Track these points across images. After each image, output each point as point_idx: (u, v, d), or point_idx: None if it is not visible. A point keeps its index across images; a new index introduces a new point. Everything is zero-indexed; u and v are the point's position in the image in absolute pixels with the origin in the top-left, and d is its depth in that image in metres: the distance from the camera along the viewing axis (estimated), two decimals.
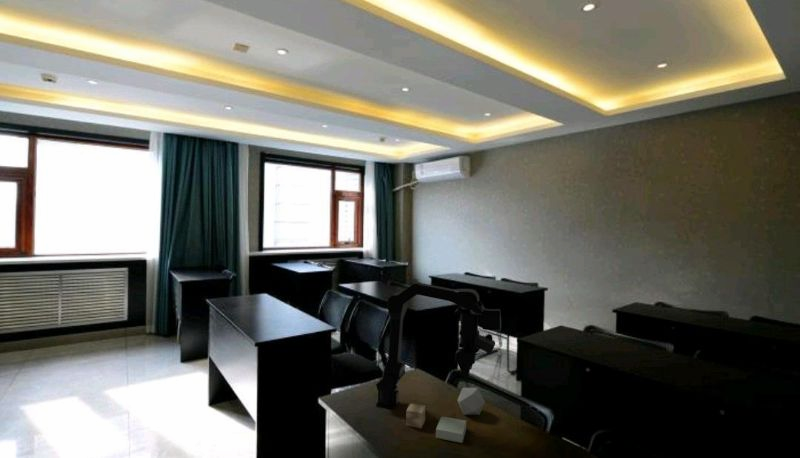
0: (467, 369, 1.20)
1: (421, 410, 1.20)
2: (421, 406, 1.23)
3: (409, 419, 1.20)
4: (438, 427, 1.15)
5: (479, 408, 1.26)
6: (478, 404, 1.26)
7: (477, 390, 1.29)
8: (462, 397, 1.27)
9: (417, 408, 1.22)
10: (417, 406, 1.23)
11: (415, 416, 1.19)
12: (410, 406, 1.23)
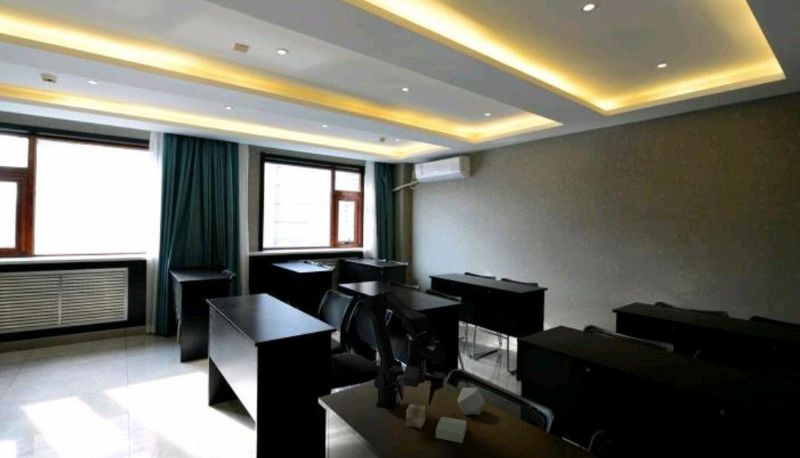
0: None
1: (421, 410, 1.20)
2: (421, 406, 1.23)
3: (409, 419, 1.20)
4: (438, 427, 1.15)
5: (479, 408, 1.26)
6: (478, 404, 1.26)
7: (477, 390, 1.29)
8: (462, 397, 1.27)
9: (417, 408, 1.22)
10: (417, 406, 1.23)
11: (415, 416, 1.19)
12: (410, 406, 1.23)
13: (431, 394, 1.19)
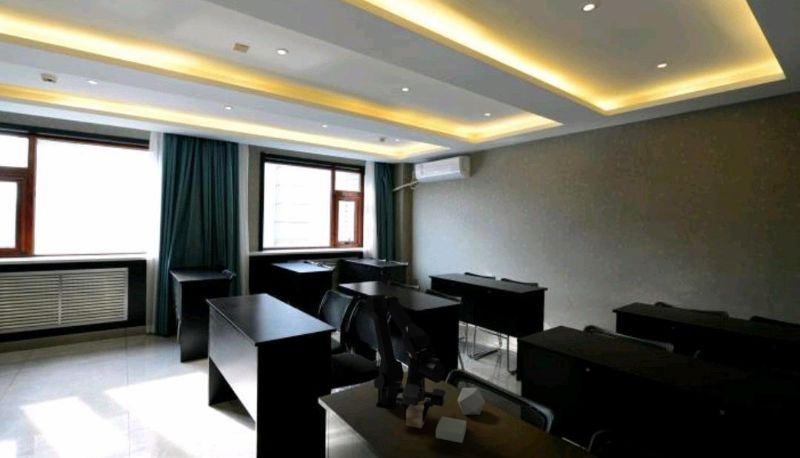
0: None
1: (421, 410, 1.20)
2: (421, 406, 1.23)
3: (409, 418, 1.20)
4: (438, 427, 1.15)
5: (479, 408, 1.26)
6: (478, 404, 1.26)
7: (477, 390, 1.29)
8: (462, 397, 1.27)
9: (417, 407, 1.22)
10: (417, 406, 1.23)
11: (415, 415, 1.19)
12: (410, 406, 1.23)
13: (425, 411, 1.20)
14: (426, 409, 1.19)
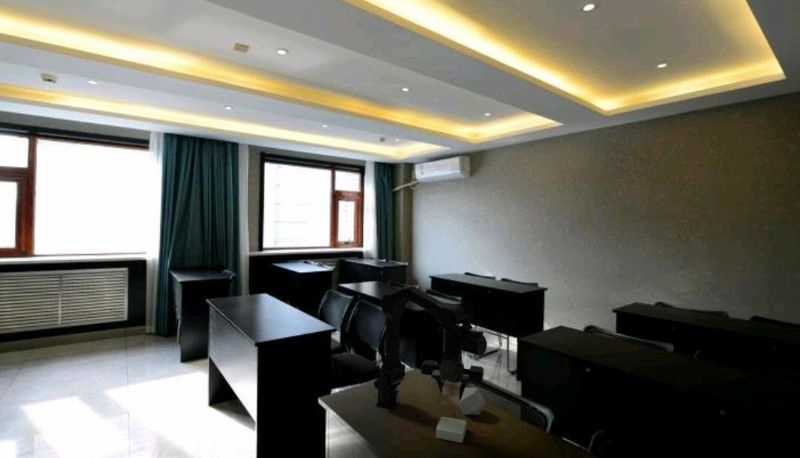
0: None
1: (458, 387, 1.14)
2: (457, 383, 1.17)
3: (446, 396, 1.14)
4: (438, 427, 1.15)
5: (479, 408, 1.26)
6: (478, 404, 1.26)
7: (477, 390, 1.29)
8: (462, 397, 1.27)
9: (453, 385, 1.16)
10: (453, 383, 1.17)
11: (452, 393, 1.13)
12: (445, 383, 1.17)
13: (462, 388, 1.14)
14: (463, 386, 1.14)
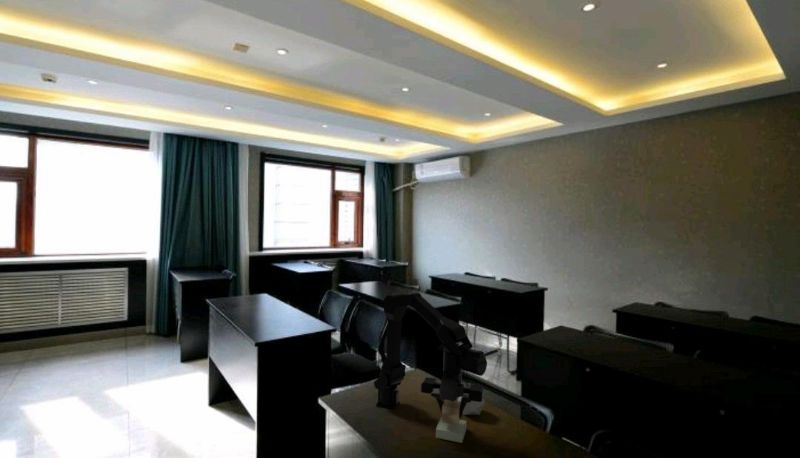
0: None
1: (458, 406, 1.15)
2: (457, 402, 1.17)
3: (445, 415, 1.14)
4: (438, 427, 1.15)
5: (479, 408, 1.26)
6: (478, 404, 1.26)
7: None
8: None
9: (453, 403, 1.16)
10: (453, 402, 1.17)
11: (452, 412, 1.14)
12: (445, 402, 1.17)
13: (462, 407, 1.14)
14: (463, 405, 1.14)
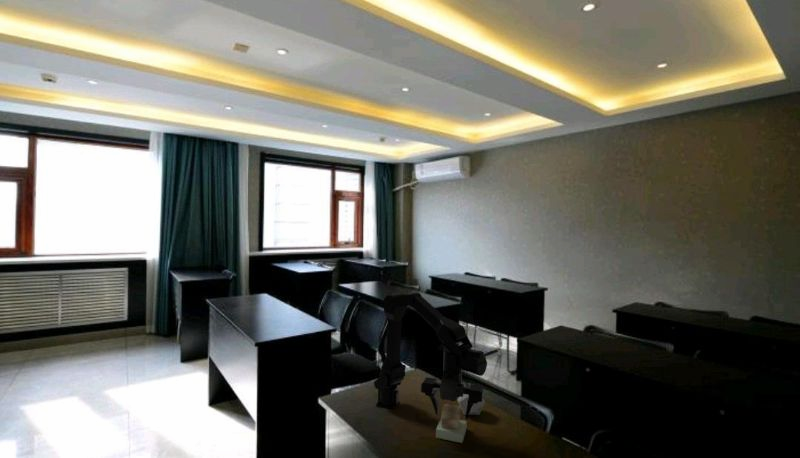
0: None
1: (457, 411, 1.15)
2: (456, 406, 1.18)
3: (445, 420, 1.14)
4: (438, 427, 1.15)
5: (479, 408, 1.26)
6: (478, 404, 1.26)
7: None
8: (462, 397, 1.27)
9: (453, 408, 1.16)
10: (452, 407, 1.18)
11: (452, 417, 1.14)
12: (445, 407, 1.17)
13: (468, 408, 1.13)
14: (470, 406, 1.13)
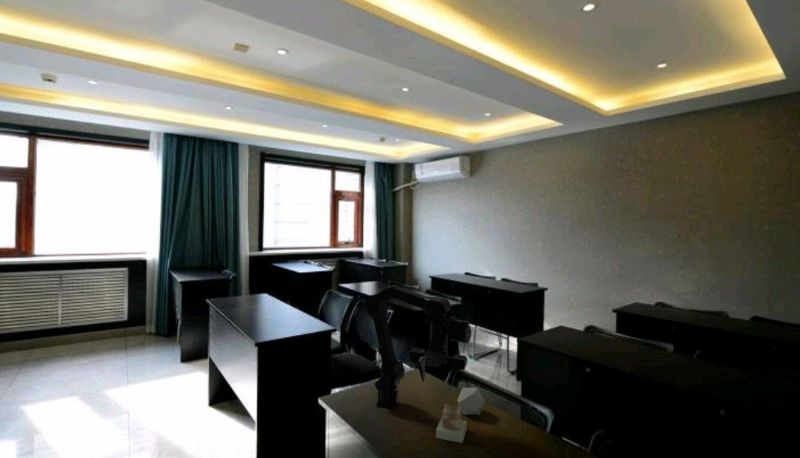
0: None
1: (458, 411, 1.15)
2: (457, 407, 1.18)
3: (446, 420, 1.14)
4: (438, 428, 1.14)
5: (479, 408, 1.26)
6: (478, 404, 1.26)
7: (477, 390, 1.29)
8: (462, 397, 1.27)
9: (453, 408, 1.16)
10: (453, 407, 1.17)
11: (452, 417, 1.14)
12: (445, 407, 1.17)
13: (452, 375, 1.22)
14: (453, 374, 1.22)
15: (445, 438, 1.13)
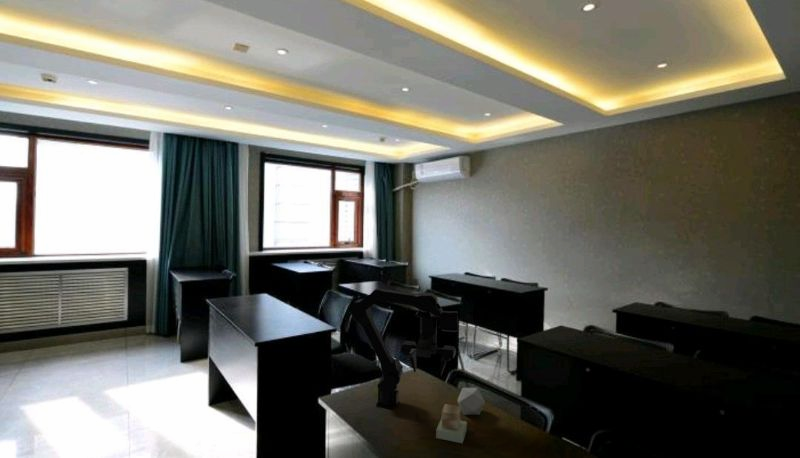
0: None
1: (458, 411, 1.15)
2: (456, 407, 1.17)
3: (445, 420, 1.14)
4: (438, 427, 1.14)
5: (479, 408, 1.26)
6: (478, 404, 1.26)
7: (477, 390, 1.29)
8: (462, 397, 1.27)
9: (453, 409, 1.16)
10: (453, 407, 1.17)
11: (452, 417, 1.13)
12: (445, 407, 1.17)
13: (442, 365, 1.29)
14: (443, 364, 1.29)
15: (445, 438, 1.13)
